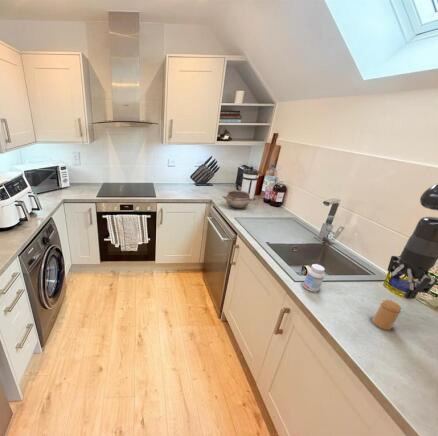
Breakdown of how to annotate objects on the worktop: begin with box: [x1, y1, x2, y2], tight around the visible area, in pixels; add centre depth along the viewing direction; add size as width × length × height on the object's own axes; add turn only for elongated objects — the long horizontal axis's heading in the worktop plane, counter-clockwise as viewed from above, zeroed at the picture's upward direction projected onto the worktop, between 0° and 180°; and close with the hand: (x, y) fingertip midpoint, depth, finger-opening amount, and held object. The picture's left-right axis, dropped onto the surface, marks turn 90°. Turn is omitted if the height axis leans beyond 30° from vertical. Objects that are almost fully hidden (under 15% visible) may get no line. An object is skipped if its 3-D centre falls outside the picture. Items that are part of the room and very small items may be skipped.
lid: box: [390, 277, 416, 293], centre depth 80 cm, size 6×6×2 cm
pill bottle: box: [302, 263, 326, 293], centre depth 103 cm, size 6×6×11 cm
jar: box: [372, 299, 402, 331], centre depth 85 cm, size 5×5×9 cm
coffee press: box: [235, 166, 260, 201], centre depth 213 cm, size 17×16×30 cm
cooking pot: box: [222, 189, 255, 210], centre depth 196 cm, size 25×19×12 cm
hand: (400, 291), depth 81 cm, fingers closed on lid, 6 cm apart
